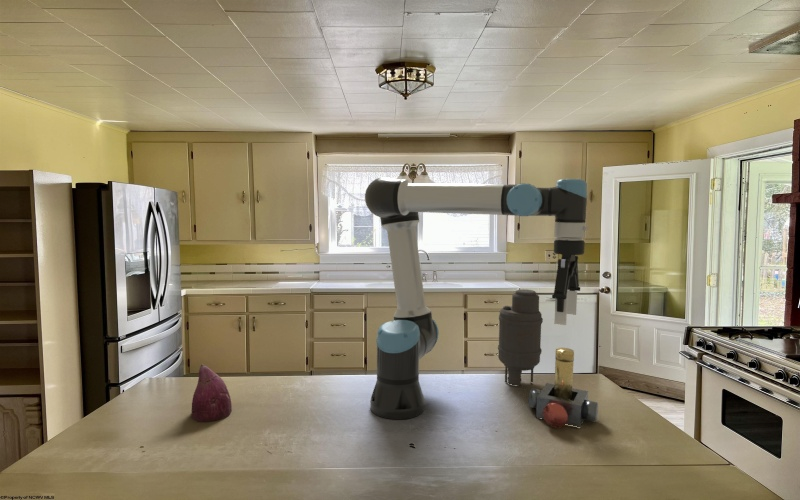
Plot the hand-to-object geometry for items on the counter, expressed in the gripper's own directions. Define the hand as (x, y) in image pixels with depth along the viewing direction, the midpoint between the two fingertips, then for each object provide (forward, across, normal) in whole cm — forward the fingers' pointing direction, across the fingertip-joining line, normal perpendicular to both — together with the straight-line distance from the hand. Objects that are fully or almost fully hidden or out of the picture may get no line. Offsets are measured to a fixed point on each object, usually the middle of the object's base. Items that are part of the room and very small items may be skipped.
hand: (565, 319), depth 118 cm
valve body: (+27, -2, 0) cm, 27 cm away
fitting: (+24, 0, 0) cm, 24 cm away
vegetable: (+27, -50, +80) cm, 98 cm away
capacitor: (+27, +17, +17) cm, 36 cm away
